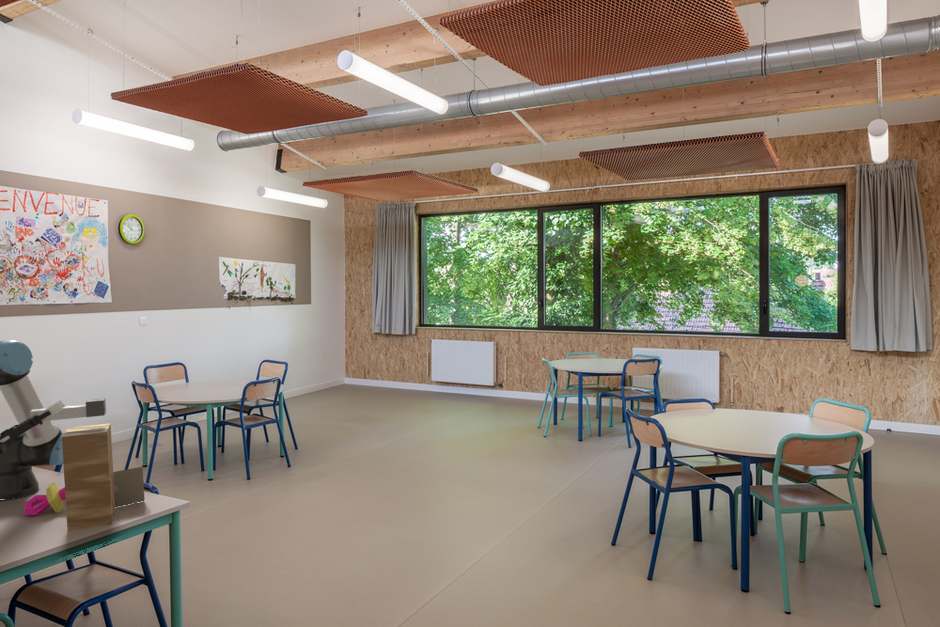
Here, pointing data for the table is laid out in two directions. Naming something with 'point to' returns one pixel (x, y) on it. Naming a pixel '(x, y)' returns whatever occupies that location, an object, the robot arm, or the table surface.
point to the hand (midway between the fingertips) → (61, 404)
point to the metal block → (77, 410)
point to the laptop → (128, 486)
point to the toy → (46, 501)
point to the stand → (88, 476)
